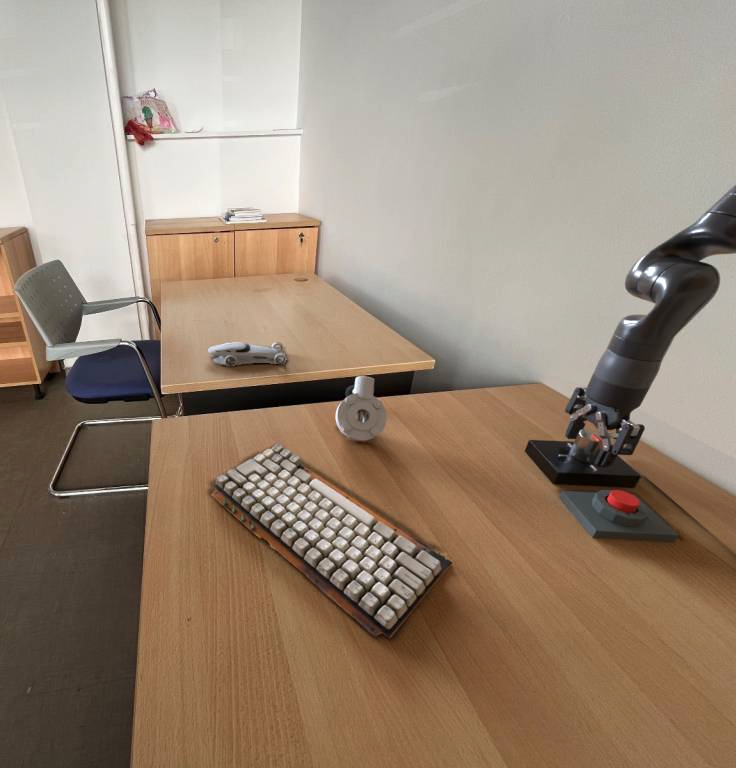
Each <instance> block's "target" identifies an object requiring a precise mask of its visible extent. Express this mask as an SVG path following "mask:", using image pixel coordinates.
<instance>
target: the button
mask: <svg viewBox="0 0 736 768" xmlns="http://www.w3.org/2000/svg"><path fill="white" fill-rule="evenodd" d="M612 490H613V489H612ZM607 503H608V504H609V505H610V506H612V507H613V508H615V509H617V510H619V511H622V512H625V513H634V512H635V511H636V509H637V507H638V506H639V504H640V502H639V500H638V499H637V498H636V497H635V496H633V495H631V493H629V492H627V491H624V490H620V489H619V490H618V489H614V490H613V491H611V493H610V495H609V496H608V498H607Z"/></svg>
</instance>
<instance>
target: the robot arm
mask: <svg viewBox="0 0 736 768" xmlns="http://www.w3.org/2000/svg"><path fill="white" fill-rule="evenodd" d="M733 254H735V255H736V184H734V185H733V186H732V187H731V188H730V189H728V191H726V193H725V194H723V195H722V196H721V197H720V198H719V199H718V200H717V201H716V202H714V204H713V205H712V206H710V207H709V209H707V210H706V211H705V212H704V213H703V214H702V215H701V216H700V217H699V218H698V219H697V220H696V221H695V222H693V223H692V224H690V225H689V226H688V227H685V228H684V229H682V230H680V231H679V232H677V233H676V234H674V235H672V236H671V237H670V238H668V239H667V240H664V242H662V243H660V244H658V245H657V246H656V247H654V248H653V249H651V250H650V251H648V252H647V253H645V254H644V255H643V256H641V258H639V259H638V260H636V262H635V263H634V264H633V265H632V267H631V268H630V269H629V271H628V273H627V275H626V276H625V279H624V287H625V290H626V292H627V293H628V294H630V295H631V296H633V297H635V298H638V299H641V300H643V301H646V302H649V303H652V304H654V306H653V308H652V309H651V310H650V311H649V312H648V313H647V314H640V313H639V314H630V315H629V314H628V315H626V316H624V317H623V318H621V319H620V320H619V322H618V324H617V325H616V327H615V329H614V332H613V334H612V335H611V338H610V340H609V342H608V344H607V345H608V346H606V348H605V350H604V351H603V353H602V355H601V356H600V358H599V360H598V362H597V364H596V367H595V368H594V371H593V374H592V375H591V377H590V379H589V382H588V384H587V386H586V387H583V386H581V387H579V386H578V387H575V389H574V390H573V392H572V395H571V397H570V398H569V400H568V402H567V405H566V406H565V408H564V413H565V414H568V415H569V418H568V419H569V423H568V426H567V428H566V430H565V434H564V437H566V439H568V440H575V439H576V437H577V435H578V433H579V431H580V430H583V429H585V426H586V423H585V422H589V423H591V424H593V426H594V428H596V429H597V432H598V433H599V437H601V438H602V442H603V448H601V450H600V452H599V454H598V456H597V458H596V460H595V462H594V464H595V465H596V466H597V467H609V466H611V465H612V464H613V462H614V460H615V459H616V457H617V455H618V456H632V455H633V454H634V452H635V451H636V449H637V447H638V445H639V442H640V440H641V438H642V436H643V434H644V431H645V429H646V428H645V425H644V424H641V423H635V422H634V421H632V420H630V419H631V413H632V412H633V411H635V410H636V409H638V408H639V407H641V405H642V403H643V401H644V400H645V398H646V396H647V394H648V393H649V390H650V388H651V386H652V385H653V383H654V381H655V379H656V377H657V375H658V374H659V372H660V369H661V365H662V363H663V360H664V358H665V356H666V355H667V353H668V351H669V349H670V347H671V346H672V343H673V341H674V339H675V338H676V336H677V335H678V334H679V333H680V332H681V331H682V330H683V329H684V328H685V327H686V326H687V325H688V324H689V323H690V322H691V321H692V320H693V319H694V318H695V317H696V316H697V315H698V314H699V313H700V312H701V311H702V310H703V309H704V308H706V306H707V305H709V303H710V302H711V301H712V300H713V299H714V297H715V296H716V295H717V293H718V291H719V288H720V284H721V275H720V272H719V270H718V268H717V267H716V266H715V265H713V264H710V263H707V262H704V261H703V260H704V259H706V258H709V257H712V256H719V255H733ZM576 405H577V406H576ZM614 430H615V433H614V432H613V433H611V432H609V431H614ZM612 439H613V441H614V444H612ZM625 445H626V446H625Z"/></svg>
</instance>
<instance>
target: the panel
mask: <svg viewBox="0 0 736 768" xmlns="http://www.w3.org/2000/svg"><path fill="white" fill-rule="evenodd" d="M574 441H575V440H574ZM574 441H572V440H568V441H567V440H546V439H545V440H543V439H542V440H541V439H528V441H527V444H526V447H525V449H524V452H525V454H526V455H527V456H528V458H529V459H531V461H532V462H533V463H534V464H535V465H536V466H537V468H538V469H539V470H540V471H541V472H542V473H543V475H544V476H545V477H546V479H548V481H549V482H550V483H551V484H552V485H558V486H559V485H560V486H581V487H602V488H621V489H622V488H623V489H635V488H636V486H637V484H638V483H639V481H640V479H641V478H642V475H641V474H640V473H639V472H638V471H636V469H635V468H633V467H632V466H631V465H630V464H628V463H627V462H626V461H625V460H624V459H623V458H622V457H621V456H620V455H617V457H616V459H615V460H614V462H613V464H612V465H611V466H609V467H597V466H596V465H595V464H594V462H593V463H585V462H581V461H578V460H576V459H574V458H573V457H572V456H571V455H570V454H569V451H570V449H571V447H572V445H573V443H574ZM602 448H603V447H602Z"/></svg>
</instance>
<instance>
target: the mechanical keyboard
mask: <svg viewBox="0 0 736 768" xmlns="http://www.w3.org/2000/svg"><path fill="white" fill-rule="evenodd" d="M213 488H214V490H215V491H213V492H212V493H211V497H212V498H213V499H215V500H216V501H217V502H218V503H219V504H220V505H221V506H223V508H225V509H226V510H227V511H228V512H229V513H231V515H233V516H234V517H235V518H236V519H237V520H238V521H239V522H241V524H243V525H244V526H245V527H246V528H247V529H248V530H249V531H251V532H252V534H254V535H255V536H256V537H258V539H260V540H261V539H264V540H265V541H267V542H268V544H269V547H270V548H271V549H272V550H274V551H275V552H278V554H280V556H282V557H283V558H284V559H285V560H287V561H288V562H289V563H291V564H292V565H293V567H295V568H296V569H298V570H299V571H300V572H301V573H302V574H303V575H305V576H306V577H307V579H308V580H309V581H310V582H311V583H312V584H313V585H315V586H316V587H317V588H318V589H319V590H320V591H321V592H322V593H323V594H324V595H325V596H326V597H327V598H329V599H331V600H332V601H333V602H334V603H335V604H336V605H338V607H340V608H341V609H342V610H343V611H344V613H346V614H347V615H349V616H350V617H351V619H353V620H354V621H356V622H357V624H358V625H360V626H361V628H362V629H364V630H365V631H367V632H368V633H369V634H370V635H371V636H373V637H374V638H376V637H379V636H380V635H384V636H385V637H386V638H388V639H392V638H394V636H395V635H396V634H397V633H398V631H400V629H402V627H403V626H404V624H405V623H406V622H407V620H408V619H409V618H410V617H411V615H412V614H413V613H414V612H415V610H416V609H417V608H418V607H419V605H421V603H422V602H423V601H424V600H425V598H426V597H427V596H428V594H429V593H430V592H431V591H432V590H433V588H434V587H435V586H436V584H437V583H438V582H439V581H440V579H442V577H443V576H444V575H445V573H446V572H447V571H448V569H449V568H450V567H451V566H452V564H453V562H452V561H451V560H450V559H449V558H446V557H445V556H444V555H442V554H439V553H437V552H436V551H434V550H433V549H430V548H428V546H427V544H425V543H423V542H421V541H419V540H418V539H415V538H413V537H412V536H410V535H409V534H408V533H406V532H405V531H403V530H401V529H399V528H398V527H396V526H395V525H394V524H393V523H391V522H389V521H388V520H386V519H384V518H383V517H381V516H380V515H379V514H377V513H375V512H374V511H372V510H371V509H369V508H367V506H365V505H363V504H362V503H360V502H359V501H357V500H356V499H354V498H353V497H351V496H350V495H348V494H347V493H345V492H343V491H342V490H341V489H339V488H337V487H336V486H334V485H333V484H331V483H330V482H329V481H327V480H326V479H324V478H322V477H321V476H320V475H318V474H316V473H314V472H313V471H312V470H310V469H309V468H306V467H305V466H304V465H303V462H302V459H301V457H300V456H298V455H296V454H295V453H294V454H292V452H291V451H290V450H289V449H287V448H285V449H284V448H283V446H282V445H281V444H279V443H276V444H275V445H273V447H272V448H267V449H266V450H264V451H263V452H262V453H258V454H257V455H255V456H254V457H252V458H249V459H248V460H246V461H245V462H243V463H241V464H240V465H238V466H236V468H232V469H229V470H228V471H226V474H221V475H219V476H218V477H216V481H215V485H213Z"/></svg>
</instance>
